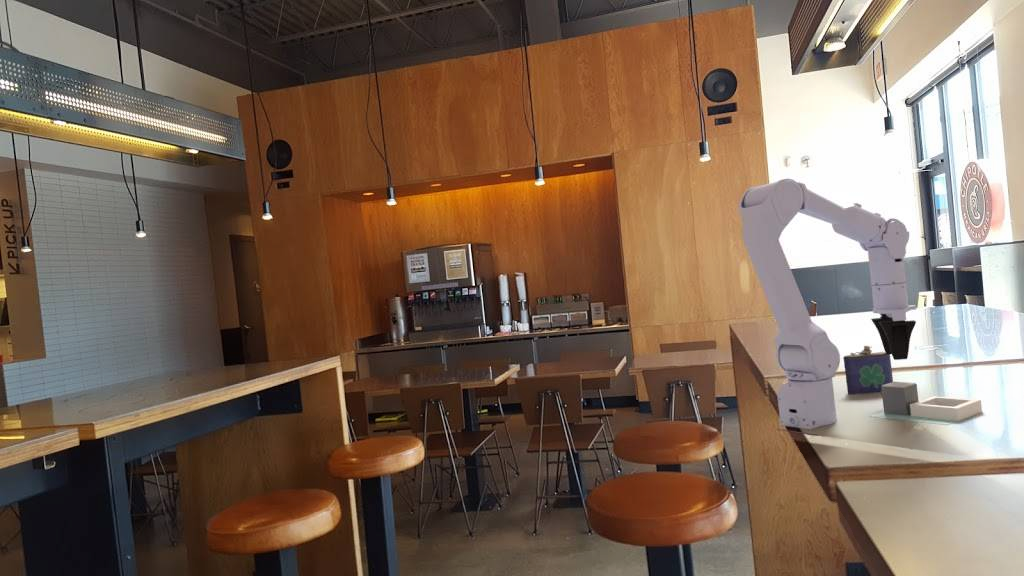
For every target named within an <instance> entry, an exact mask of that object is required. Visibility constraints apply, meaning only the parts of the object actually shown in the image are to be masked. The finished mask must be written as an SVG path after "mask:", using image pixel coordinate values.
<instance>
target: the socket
mask: <svg viewBox="0 0 1024 576" xmlns="http://www.w3.org/2000/svg"><path fill="white" fill-rule="evenodd" d="M910 410H911V416H917V417H926V418H936V419H946V420H956V421H957V422H960V421H962V419H963V420H965V419H967V417H968V418H971V417H973V416H975V414H976V415H978V414H980V412H981V413H983V412H982V411H983V406H982V400H981V399H977V398H976V399H973V398H961V397H960V398H959V397H949V396H935V395H933V396H930V397H928V398H925V399H922V400H919V401H918V402H915V403H912V404H910ZM977 413H978V414H977ZM972 415H973V416H972ZM964 418H965V419H964ZM959 420H960V421H959Z"/></svg>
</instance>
